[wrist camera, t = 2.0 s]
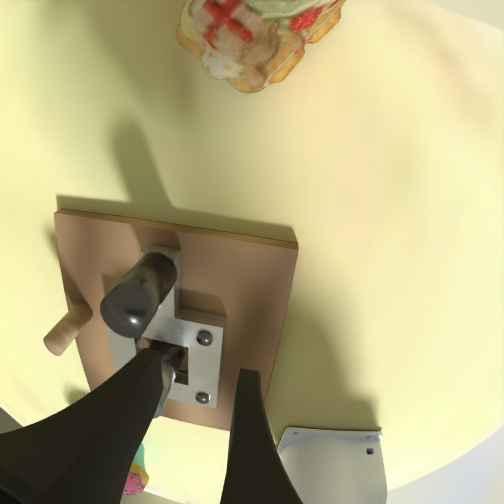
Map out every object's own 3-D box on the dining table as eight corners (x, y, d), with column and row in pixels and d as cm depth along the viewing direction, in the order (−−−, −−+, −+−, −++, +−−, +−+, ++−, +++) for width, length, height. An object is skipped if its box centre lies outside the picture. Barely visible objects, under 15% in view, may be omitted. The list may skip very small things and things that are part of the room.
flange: (218, 397, 23) (203, 457, 17) (124, 373, 23) (95, 424, 18) (233, 254, 18) (210, 313, 12) (105, 234, 18) (50, 276, 13)
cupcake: (169, 463, 31) (143, 543, 20) (114, 454, 33) (84, 523, 22) (138, 424, 28) (99, 516, 17) (81, 415, 30) (39, 490, 19)
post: (185, 338, 21) (159, 397, 16) (185, 365, 22) (162, 422, 17) (149, 330, 21) (117, 385, 16) (152, 357, 22) (124, 411, 17)
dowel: (91, 303, 21) (58, 340, 17) (94, 321, 21) (64, 358, 17) (74, 299, 21) (41, 333, 17) (77, 316, 21) (47, 351, 17)
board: (298, 243, 18) (298, 250, 17) (256, 426, 26) (255, 435, 25) (62, 208, 19) (53, 212, 18) (95, 386, 26) (91, 393, 26)
